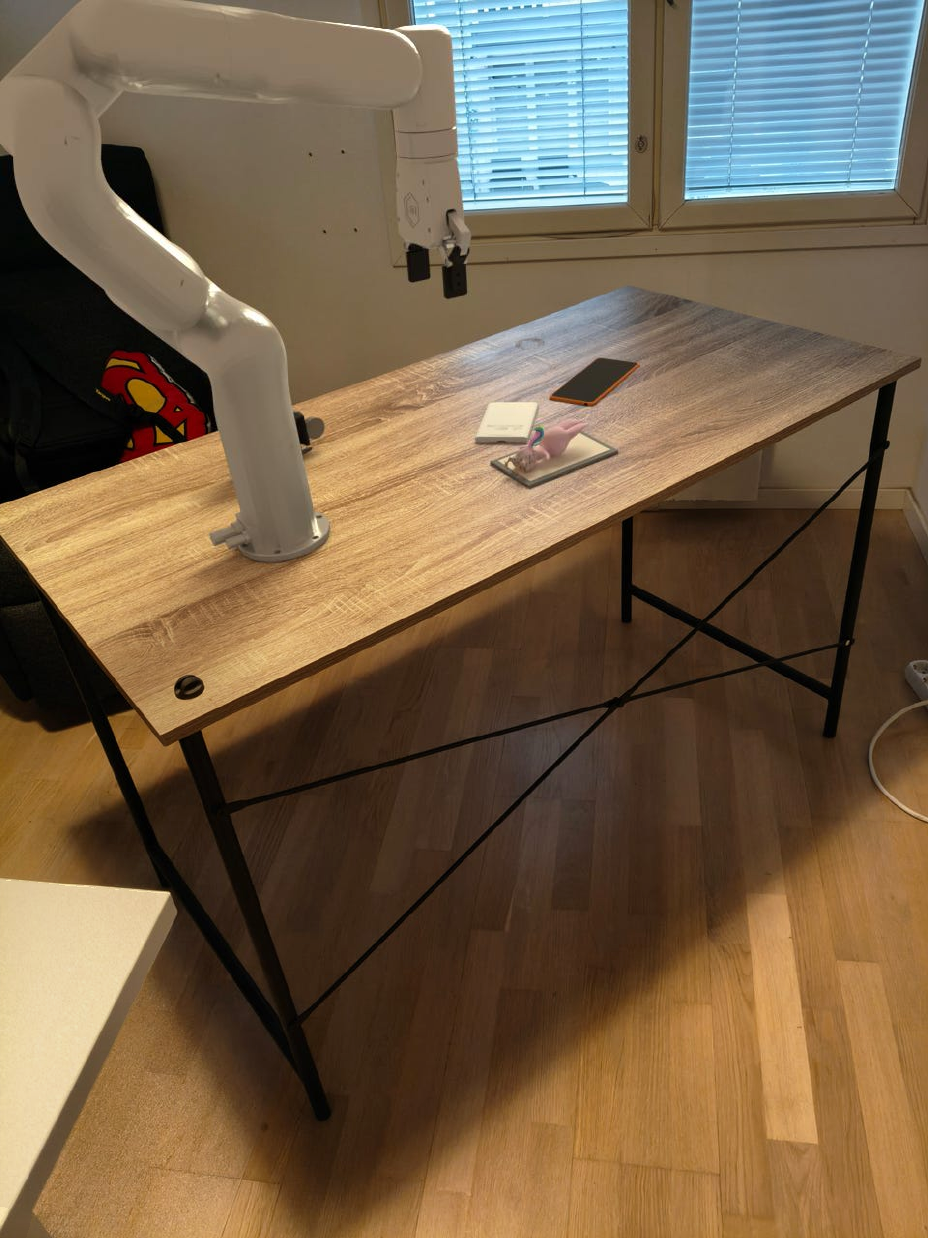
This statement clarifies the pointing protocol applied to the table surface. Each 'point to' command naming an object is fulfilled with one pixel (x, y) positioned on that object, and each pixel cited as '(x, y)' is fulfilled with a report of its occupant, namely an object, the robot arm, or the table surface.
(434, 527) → the table surface
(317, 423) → the figurine character
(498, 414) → the external hard drive
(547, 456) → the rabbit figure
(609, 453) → the mat
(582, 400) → the smartphone
